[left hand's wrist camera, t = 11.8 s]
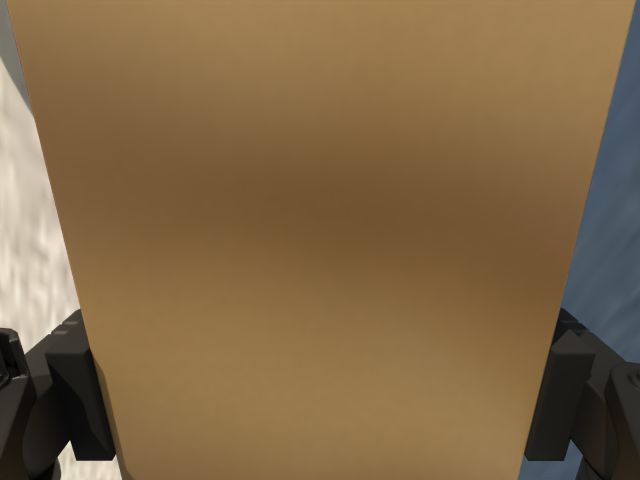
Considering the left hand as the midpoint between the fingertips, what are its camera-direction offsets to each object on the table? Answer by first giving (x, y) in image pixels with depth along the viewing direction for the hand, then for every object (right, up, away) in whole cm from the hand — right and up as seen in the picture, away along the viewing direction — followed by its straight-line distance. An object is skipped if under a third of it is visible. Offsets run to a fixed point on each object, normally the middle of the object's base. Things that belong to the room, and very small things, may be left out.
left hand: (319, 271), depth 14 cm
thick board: (0, -18, +7) cm, 19 cm away
